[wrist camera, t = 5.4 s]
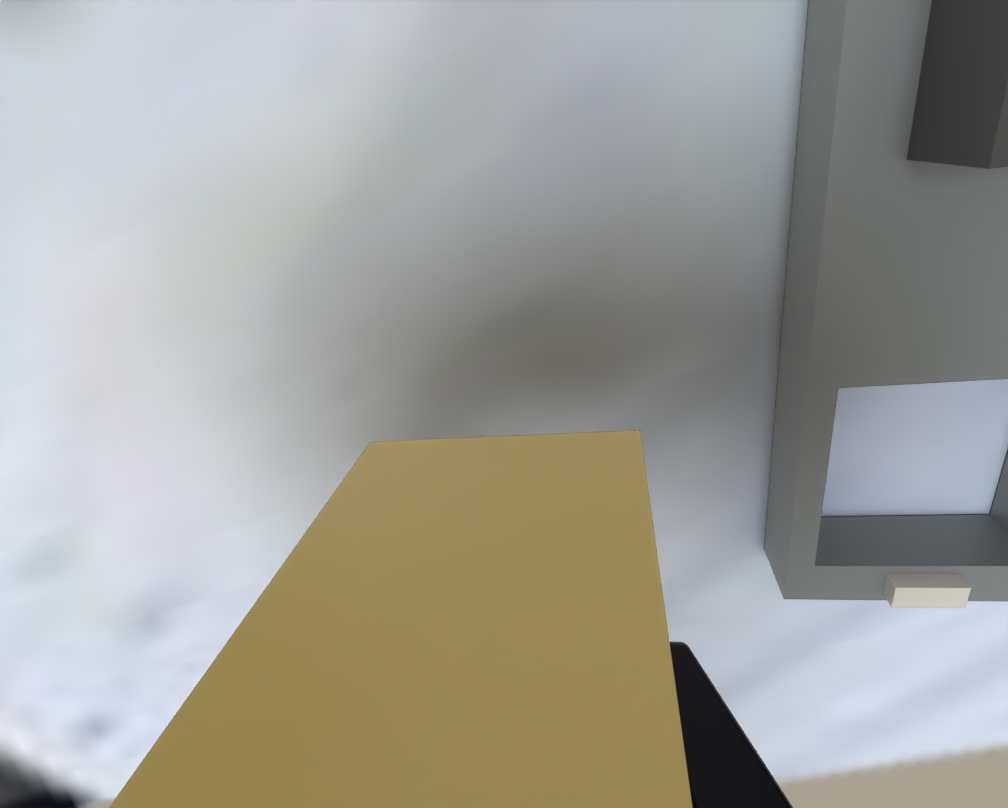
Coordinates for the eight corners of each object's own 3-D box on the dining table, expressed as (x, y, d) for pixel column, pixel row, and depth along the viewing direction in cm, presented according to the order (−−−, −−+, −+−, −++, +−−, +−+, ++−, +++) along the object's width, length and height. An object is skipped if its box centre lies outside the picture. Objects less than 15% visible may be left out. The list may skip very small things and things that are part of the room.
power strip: (763, 548, 21) (815, 678, 16) (822, -173, 12) (970, -367, 7) (1007, 546, 19) (1146, 689, 14) (1263, -273, 11) (1807, -598, 6)
